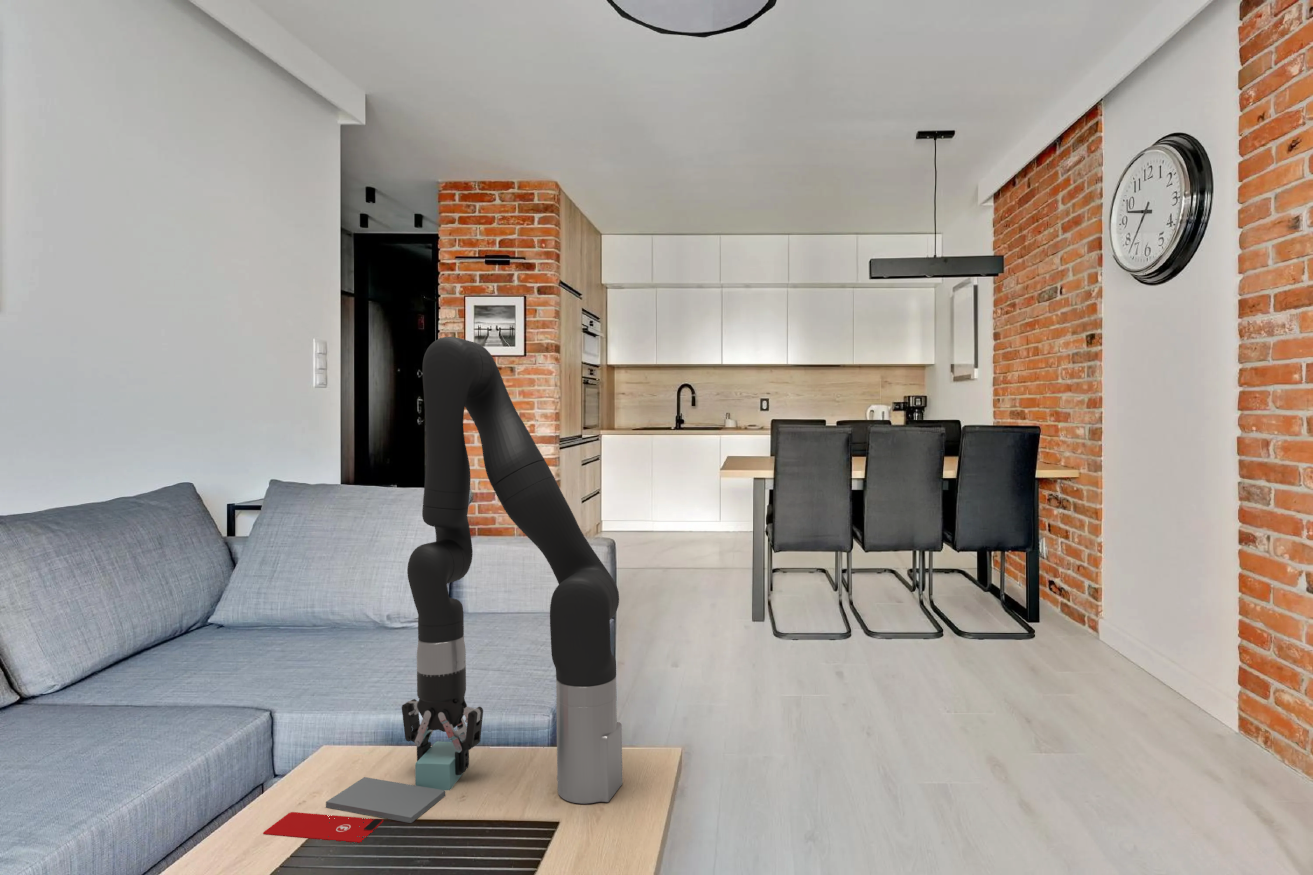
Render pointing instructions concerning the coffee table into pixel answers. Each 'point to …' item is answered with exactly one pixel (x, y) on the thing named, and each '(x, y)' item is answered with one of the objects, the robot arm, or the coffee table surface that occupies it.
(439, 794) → the mat
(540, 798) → the coffee table surface
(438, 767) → the teal rectangular block
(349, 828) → the electronic device
